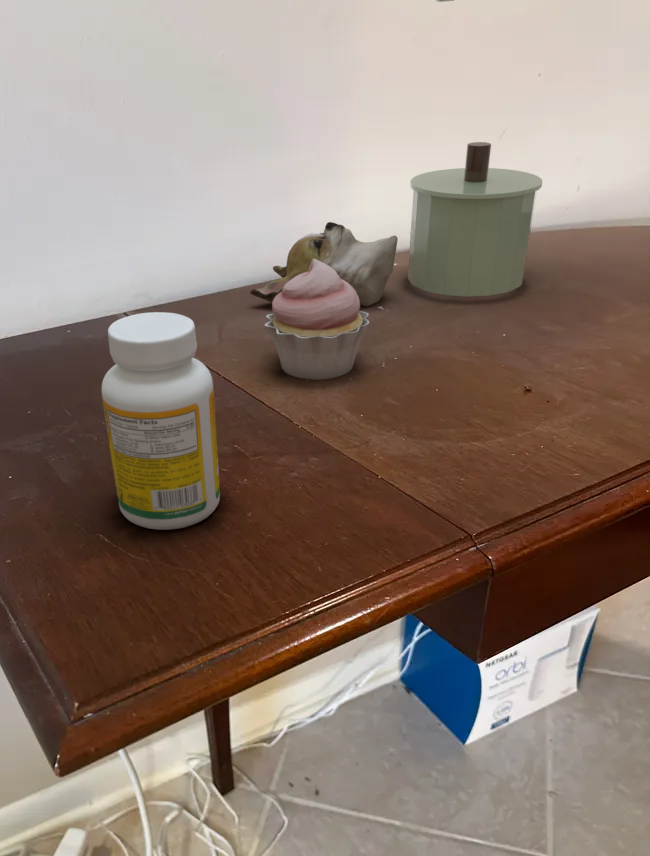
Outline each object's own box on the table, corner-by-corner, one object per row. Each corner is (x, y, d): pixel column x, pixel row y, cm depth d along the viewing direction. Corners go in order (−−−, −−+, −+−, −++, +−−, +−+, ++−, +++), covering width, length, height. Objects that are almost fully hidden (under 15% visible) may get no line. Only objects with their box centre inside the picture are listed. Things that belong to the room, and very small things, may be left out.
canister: (504, 265, 98) (516, 170, 92) (537, 298, 87) (553, 194, 82) (399, 270, 98) (405, 176, 92) (419, 304, 88) (427, 201, 82)
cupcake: (281, 347, 79) (279, 241, 73) (377, 355, 76) (382, 246, 71) (251, 386, 72) (246, 272, 66) (355, 396, 69) (359, 278, 63)
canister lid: (519, 175, 93) (525, 130, 90) (559, 201, 81) (567, 151, 79) (399, 181, 93) (402, 137, 90) (423, 208, 82) (427, 159, 79)
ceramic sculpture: (389, 232, 78) (242, 237, 83) (389, 320, 83) (250, 320, 88) (405, 208, 87) (270, 213, 91) (404, 289, 91) (276, 290, 96)
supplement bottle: (181, 544, 52) (161, 355, 45) (97, 516, 55) (66, 336, 48) (241, 493, 57) (231, 316, 50) (160, 470, 60) (140, 300, 53)
